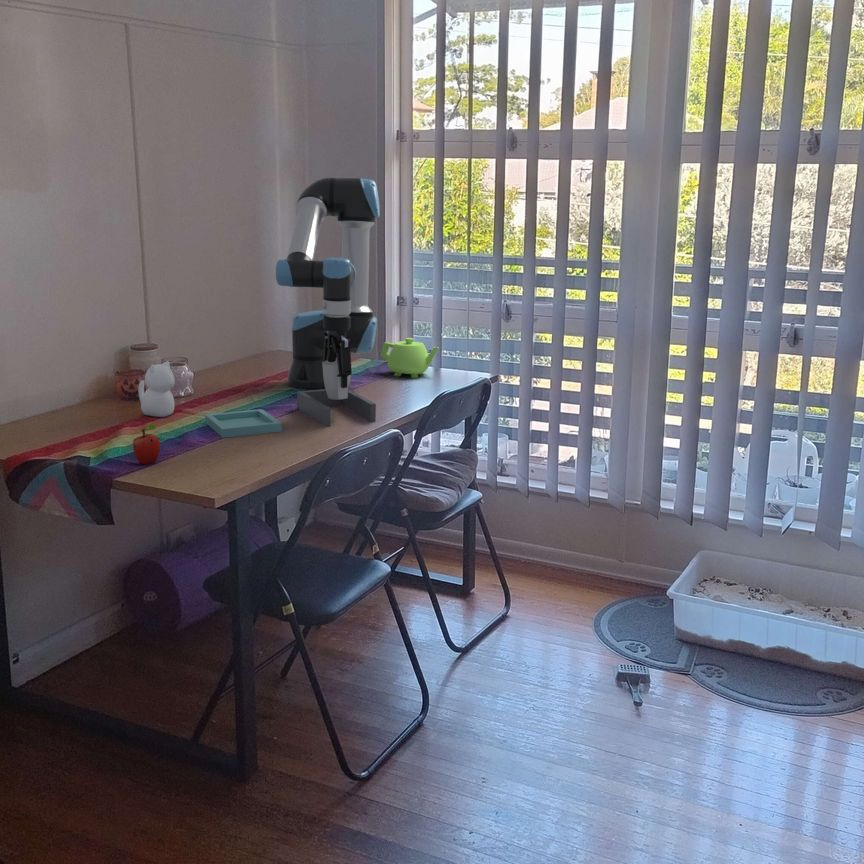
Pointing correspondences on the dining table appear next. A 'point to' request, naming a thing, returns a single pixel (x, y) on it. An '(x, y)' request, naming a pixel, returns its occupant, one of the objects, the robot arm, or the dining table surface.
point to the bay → (319, 403)
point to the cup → (332, 379)
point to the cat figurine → (157, 391)
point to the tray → (243, 423)
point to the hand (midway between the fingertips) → (336, 394)
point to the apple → (146, 446)
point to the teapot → (408, 357)
